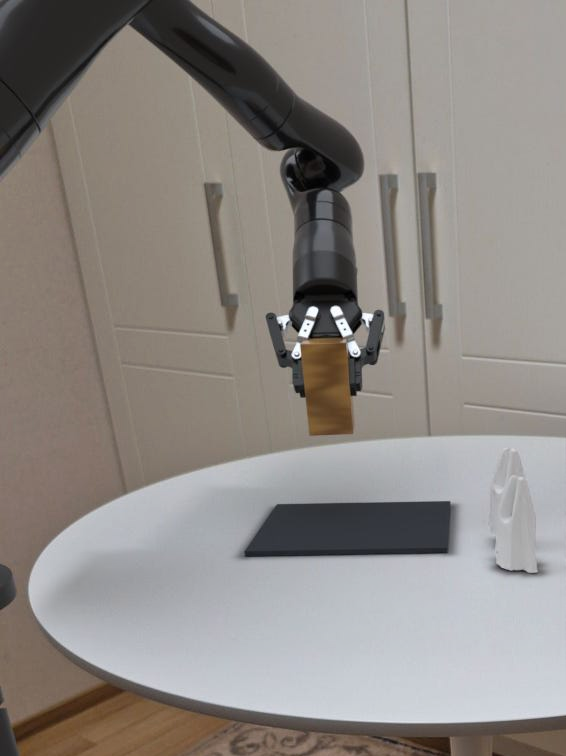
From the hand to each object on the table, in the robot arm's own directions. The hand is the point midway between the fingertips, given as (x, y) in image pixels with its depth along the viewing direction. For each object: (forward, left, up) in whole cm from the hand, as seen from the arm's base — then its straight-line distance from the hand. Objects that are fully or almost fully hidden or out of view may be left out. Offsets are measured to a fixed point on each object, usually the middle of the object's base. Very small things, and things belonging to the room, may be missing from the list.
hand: (328, 392), depth 100 cm
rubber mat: (+2, -2, -15) cm, 16 cm away
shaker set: (+20, -12, -16) cm, 28 cm away
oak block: (0, +2, -5) cm, 5 cm away
